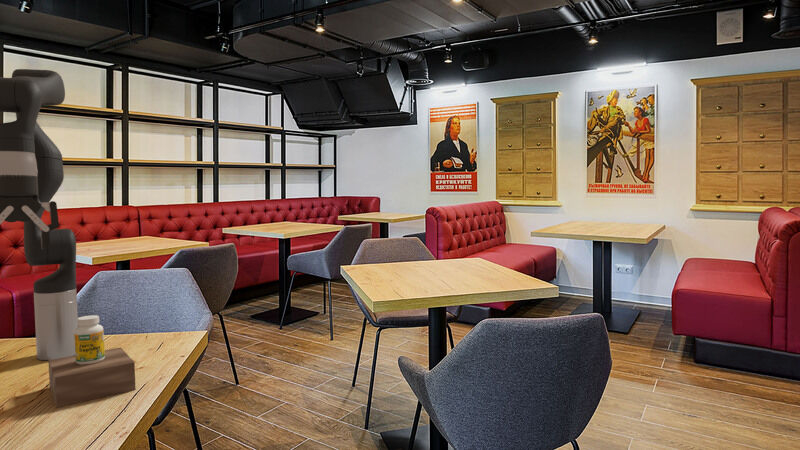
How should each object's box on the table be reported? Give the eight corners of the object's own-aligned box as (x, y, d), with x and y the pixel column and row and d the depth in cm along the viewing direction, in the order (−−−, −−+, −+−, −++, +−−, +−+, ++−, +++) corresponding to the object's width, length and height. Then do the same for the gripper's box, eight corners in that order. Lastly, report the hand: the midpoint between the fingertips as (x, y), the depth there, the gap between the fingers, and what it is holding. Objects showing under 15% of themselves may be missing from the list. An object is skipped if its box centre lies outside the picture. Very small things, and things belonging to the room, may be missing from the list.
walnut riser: (49, 387, 109) (48, 360, 109) (121, 372, 118) (120, 347, 118) (56, 407, 98) (55, 377, 98) (135, 389, 107) (134, 362, 107)
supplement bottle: (104, 355, 112) (102, 313, 111) (105, 362, 107) (103, 317, 107) (75, 360, 109) (73, 316, 108) (75, 367, 104) (73, 321, 104)
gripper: (54, 175, 113) (57, 247, 114) (-29, 174, 104) (-25, 251, 105) (58, 174, 107) (61, 249, 108) (-30, 172, 98) (-25, 254, 99)
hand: (19, 250), depth 107 cm, fingers open, 8 cm apart
